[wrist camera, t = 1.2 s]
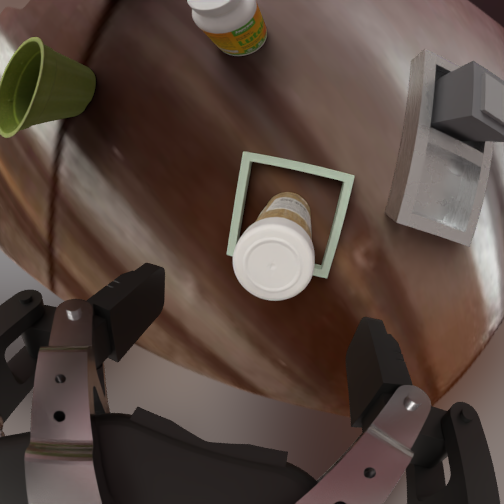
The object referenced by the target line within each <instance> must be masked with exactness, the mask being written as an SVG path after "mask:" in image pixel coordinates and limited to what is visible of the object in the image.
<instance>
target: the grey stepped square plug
mask: <svg viewBox="0 0 504 504" xmlns="http://www.w3.org/2000/svg"><path fill="white" fill-rule="evenodd" d="M430 127H432V128H434V129H437V130H439V131H441V132H443V133H445V134H447V135H450V136H452V137H454V138H456V139H458V140H460V141H491V142H504V81H503V80H501V79H500V78H499V77H497V76H496V75H494V74H493V73H492V72H490V71H489V70H487V69H486V68H484V67H482V66H481V65H479V64H478V63H476V62H474V61H472V62H470V63H468V64H466V65H464V66H462V67H460V68H458V69H456V70H454V71H452V72H450V73H448V74H446V75H444V76H442V77H440V78H438V79H436V80H435V87H434V99H433V108H432V117H431V124H430Z"/></svg>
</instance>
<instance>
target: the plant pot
mask: <svg viewBox="0 0 504 504" xmlns="http://www.w3.org/2000/svg"><path fill="white" fill-rule="evenodd" d="M95 86H96V78H95V74H94V73H93V72H92V70H91V69H90V68H88V67H86V66H84V65H82V64H80V63H78V62H76V61H74V60H72V59H70V58H68V57H66V56H63V55H61V54H59V53H57V52H55V51H54V50H53V49H52V48H50V47H48V46H46V45H44V44H43V41H42V40H41V39H40V38H38V37H32V38H30V39H28V40H26V41H25V42H24V43H23V44H22V45H21V46H20V47H19V48H18V49H17V50H16V52H15V53H14V55H13V56H12V58H11V59H10V61H9V63H8V65H7V67H6V69H5V71H4V73H3V76H2V78H1V81H0V134H1V135H2V136H3V137H5V138H9V137H12V136H14V135H15V134H16V133H17V132H18V131H20V130H23V129H26V128H29V127H30V126H32V125H36V124H40V123H44V122H49V121H54V120H59V119H64V118H69V117H75V116H77V115H79V114H81V113H82V112H83V111H84V110H85V108H86V106H87V105H88V104H89V102H90V101H91V100H92V97H93V95H94V91H95Z"/></svg>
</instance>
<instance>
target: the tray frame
mask: <svg viewBox="0 0 504 504" xmlns="http://www.w3.org/2000/svg"><path fill="white" fill-rule="evenodd" d="M252 162H258V163H263V164H269V165H274V166H279V167H284V168H288V169H293V170H298V171H302V172H306V173H311V174H315V175H319V176H323V177H327V178H331V179H335V180H339V181H343V183H342V187H341V192H340V196H339V200H338V204H337V208H336V212H335V216H334V220H333V224H332V228H331V232H330V235H329V239H328V243H327V246H326V250H325V254H324V257H323V261H322V264H321V265H318V264H315V266H314V272H313V275H314V276H318V277H323V278H327V277H328V274H329V271H330V267H331V264H332V261H333V257H334V254H335V250H336V247H337V243H338V240H339V236H340V233H341V229H342V225H343V222H344V218H345V214H346V210H347V206H348V202H349V198H350V194H351V190H352V185H353V181H354V177H355V176H354V175H351V174H347V173H343V172H340V171H336V170H332V169H328V168H324V167H320V166H315V165H311V164H307V163H302V162H298V161H293V160H288V159H283V158H278V157H273V156H268V155H262V154H257V153H251V152H243V155H242V161H241V167H240V173H239V179H238V185H237V191H236V197H235V203H234V210H233V216H232V222H231V229H230V235H229V242H228V248H227V255H230V256H233V253H234V249H235V246H236V244H237V242H238V241H239V236H240V230H241V224H242V218H243V212H244V206H245V201H246V195H247V189H248V183H249V177H250V172H251V166H252Z"/></svg>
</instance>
